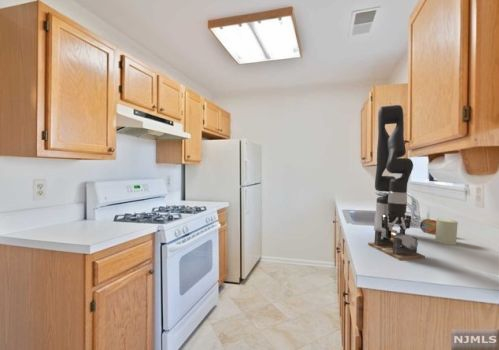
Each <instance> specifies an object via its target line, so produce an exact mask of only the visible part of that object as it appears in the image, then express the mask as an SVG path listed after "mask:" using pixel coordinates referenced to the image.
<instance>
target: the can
mask: <svg viewBox="0 0 499 350" xmlns="http://www.w3.org/2000/svg"><path fill="white" fill-rule="evenodd" d="M435 220H436V235H435V238H434V240H435V242H438V243H441V244H446V245H457V236H458V223H459V222H458V221H457V220H453V219H449V218H436V219H435Z"/></svg>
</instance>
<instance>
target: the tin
mask: <svg viewBox="0 0 499 350" xmlns="http://www.w3.org/2000/svg"><path fill="white" fill-rule="evenodd" d="M436 221H437V220H436V219H428V218H426V219H422V220H421V221H420V223H419V226H420V227H419V228H420V230H421V231H422V232H423V233H426V234H429V235H434V236H436Z"/></svg>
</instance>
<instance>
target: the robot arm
mask: <svg viewBox="0 0 499 350" xmlns="http://www.w3.org/2000/svg"><path fill="white" fill-rule="evenodd" d="M377 119H378V120H377V121H378V123H377V124H378V127H377V131H378V132H377V134H378V135H377V146H376V168H375V169H376V171H375V179H374V189H375V191H378V192H387V194H385V195H382V196H378V197H377V198H376V206H375V208H376V209H375V214H374V222H373V223H374V225H373V230H374V232H375V231H376V230H377V228H378V227H382V228H384V229H386V237H387V238H389V239H390V238H391V230H394V229H393V228H394V226H395V225H398V226H399V233H400V234H403V235H406V230H409V229H410V228H411V221H412V215H409V214H406V213H407V208H408V207H407V206H408V205H407V204H408V184H409V179H410V176H411V174H412V173H413V172H412V171H413V169H414V162H413V160H412V159H411V158H405V157H404V156H405V155H406V153H407V150H406V143H405V137H404V135H405V134H404V132H405V131H404V128H405V124H404V123H405V122H404V109H403V107H402V105H400V104H396V105H395V104H394V105H385V106H384V105H383V106H380V107H379V109H378V115H377ZM393 124H396V126H395V128H394V129H393V130H392V132H391V134H390V135H389V133H388V131H387V129H386V125H393ZM403 157H404V158H403ZM385 170H386V171H387V172H388V173H390V174H395V175H396V174H397V175H398V174H399V175H401V176H400V177H397V178H396V177H395V176H394V175H393V176H392V175H391V176H390V175H383V174H384V172H385Z"/></svg>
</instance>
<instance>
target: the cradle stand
mask: <svg viewBox="0 0 499 350" xmlns="http://www.w3.org/2000/svg"><path fill="white" fill-rule="evenodd" d="M392 231H395V232H398V230H395V229H392ZM381 234H382V231H379V230H376V231H375V230H374V242H367V245H368V246H369V247H371V248H373V249H375V250H378V251H379V252H382V253H383V254H385V255H387V256H390V257H392V258H394V259H396V260H398V261H402V260H403V261H404V260H421V259H425V258H426V255H424V254H421V253H419V252H418V247H417V248H416V249H414V250H410V249H408V248H405V247H403V246H401V239H400V238H393V242H391V241H388V240H386V239H384V238H381ZM411 237H412V238H414V239H416V240H417V241H418V237H415V236H411Z"/></svg>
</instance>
